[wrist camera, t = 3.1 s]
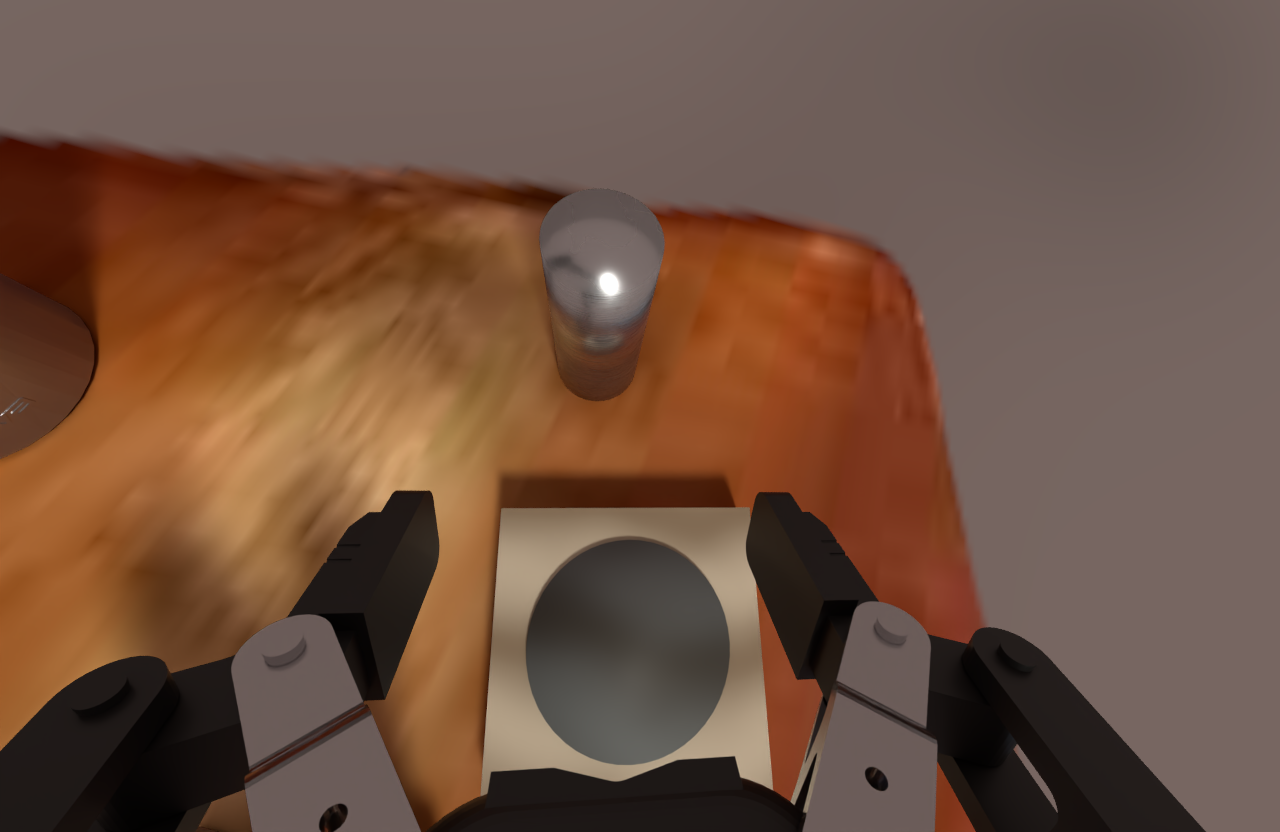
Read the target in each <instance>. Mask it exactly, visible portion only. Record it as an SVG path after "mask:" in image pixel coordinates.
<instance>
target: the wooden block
mask: <svg viewBox="0 0 1280 832" xmlns="http://www.w3.org/2000/svg"><path fill="white" fill-rule="evenodd" d="M195 832H218V831H214V830H211V829H207V828H203V827H198V828H197V830H196V831H195Z"/></svg>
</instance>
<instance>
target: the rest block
mask: <svg viewBox="0 0 1280 832" xmlns="http://www.w3.org/2000/svg"><path fill="white" fill-rule="evenodd" d="M749 525H750V509H749V508H501V520H500V534H499V548H498V562H497V576H496V589H495V603H494V617H493V631H492V645H491V659H490V672H489V686H488V700H487V714H486V728H485V742H484V756H483V769H482V783H481V796H483V795H485V794H487V793H488V787H489V781H490V774H491V772H493V771H509V770H525V769H540V768H558V769H562V770H566V771H570V772H575V773H579V774H583V775H588V776H592V777H596V778H601V779H605V780H609V781H622V780H626V779H628V778H631V777H634V776H636V775H639V774H641V773H644V772H647V771H649V770H652V769H655V768H657V767H660V766H663V765H665V764H668V763H671V762H673V761H676V760H682V759H697V758H713V757H729V756H735V758H736V762H737V766H738V770H739V774H740V777H741V778H745V779H748V780H751V781H754V782H756V783H759V784H762V785H764V786H765V787H767V788H769V789H771V790H773V784H772V772H771V760H770V748H769V736H768V724H767V712H766V700H765V688H764V676H763V664H762V652H761V640H760V628H759V616H758V604H757V592H756V581H755V578H754V576H753V574H752V571H751V569H750V566H749V564H748V561H747V556H746V538H747V534H748V529H749Z"/></svg>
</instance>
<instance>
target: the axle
mask: <svg viewBox="0 0 1280 832" xmlns="http://www.w3.org/2000/svg"><path fill="white" fill-rule="evenodd" d="M539 240H540V249H541V256H542V263H543V269H544V276H545V283H546V289H547V296H548V303H549V309H550V316H551V323H552V329H553V336H554V343H555V349H556V356H557V363H558V369H559V374H560V377H561V379H562V381H563V383H564V384H565V386H566V387H567V388H568V389H569V390H570V391H571V392H572V393H574V394H575V395H577V396H578V397H581V398H583V399H586V400H591V401H604V400H609V399H612V398H614V397H616V396H618V395H620V394H621V393H622V392H624V391H625V390H626V389H627V388H628V386H629V385H630V383H631V382H632V380H633V377H634V374H635V370H636V366H637V361H638V357H639V353H640V349H641V345H642V341H643V337H644V332H645V328H646V324H647V320H648V316H649V312H650V307H651V303H652V299H653V295H654V291H655V287H656V283H657V278H658V274H659V270H660V266H661V262H662V258H663V253H664V235H663V231H662V228H661V226H660V224H659V222H658V220H657V218H656V217H655V215H654V214H653V213H652V212H651V211H650V209H649V208H647V207H646V206H645V205H644V204H643V203H641V202H640V201H639V200H637V199H635V198H633V197H631V196H630V195H627V194H625V193H622V192H618V191H615V190H610V189H588V190H582V191H578V192H575V193H573V194H570V195H568V196H566V197H564V198H563V199H561V200H560V201H558V202H557V203H556V204H555V205H554V206H553V207H552V208H551V209H550V210H549V211H548V213H547V214H546V216H545V218H544V220H543V222H542V225H541V229H540V236H539Z"/></svg>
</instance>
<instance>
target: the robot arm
mask: <svg viewBox="0 0 1280 832" xmlns="http://www.w3.org/2000/svg"><path fill="white" fill-rule="evenodd" d="M93 366H94V344H93V341H92V338H91V334H90V331H89V330H88V328H87V327H86V325H85V324H84V322H83V321H82V319H81V318H80V317H79V316H77V315H76V314H75V313H74V312H73V311H71V310H70V309H69V308H68V307H66V306H64V305H62V304H60V303H58V302H56V301H54V300H52V299H50V298H48V297H46V296H44V295H42V294H40V293H38V292H36V291H34V290H32V289H30V288H28V287H26V286H24V285H22V284H20V283H18V282H16V281H15V280H13V279H11V278H9V277H7V276H5V275H3V274H1V273H0V459H1V458H4V457H6V456H8V455H11V454H13V453H15V452H17V451H19V450H21V449H23V448H25V447H28V446H29V445H31V444H32V443H34V442H35V441H37V440H38V439H40V438H41V437H43V436H44V435H46V434H47V433H49V432H50V431H51V430H52V429H53V428H54V427H55V426H56V425H58V424H59V423H60V422H61V421H62V420H63V419H64V418H65V417H66V416H67V415H68V414H69V412H70V411H71V410H72V409H73V407H74V406H75V405H76V404H77V402H78V401H79V400H80V398H81V396H82V394H83V393H84V391H85V389H86V387H87V385H88V383H89V381H90V377H91V373H92V370H93ZM836 541H837V540H836V539H835V537H834V536H833V534H832V533H831V532H830V530H829V529H828V527H827V526H826V525H825V524H824V523H823V522H821V521H820V520H819V519H818V518H816V517H815V516H814V515H812V514H811V513H810V512H802V511H801V509H800V508H799V506H798V505H797V503H796V502H795V500H794V498H793V497H792V496H791V494H790V493H788V492H759V493H758V494H757V496H756V498H755V502H754V507H753V511H752V516H751V520H750V525H749V529H748V534H747V538H746V556H747V561H748V564H749V566H750V569H751V571H752V574H753V576H754V578H755V581H756V583H757V585H758V588H759V590H760V593H761V595H762V597H763V600H764V602H765V604H766V607H767V609H768V612H769V614H770V616H771V619H772V621H773V624H774V626H775V628H776V631H777V633H778V635H779V638H780V640H781V643H782V645H783V647H784V650H785V652H786V655H787V657H788V659H789V662H790V664H791V666H792V669H793V671H794V674H795V676H796V678H797V680H801V679H816V680H817V682H818V684H819V686H820V689H821V691H822V693H823V694H822V697H821V700H820V703H819V707H818V710H817V714H816V717H815V721H814V725H813V728H812V732H811V735H810V739H809V743H808V746H807V750H806V753H805V757H804V761H803V764H802V768H801V771H800V775H799V778H798V781H797V784H796V787H795V790H794V793H793V796H792V799H791V802H790V801H789V800H787V799H786V798H784V797H783V796H781V795H780V794H778V793H777V792H775V791H773V790H771V789H769V788H767V787H765V786H764V785H762V784H759V783H756V782H754V781H751V780H748V779H745V778H741V777H740V774H739V770H738V766H737V762H736V758H735V756H729V757H713V758H697V759H682V760H676V761H673V762H671V763H668V764H665V765H663V766H660V767H657V768H655V769H652V770H649V771H647V772H644V773H641V774H639V775H636V776H634V777H631V778H628V779H626V780H622V781H609V780H605V779H601V778H596V777H592V776H588V775H583V774H579V773H575V772H570V771H566V770H562V769H558V768H540V769H525V770H509V771H493V772H491V774H490V781H489V787H488V793H487V794H485V795H483V796H480V797H477V798H475V799H473V800H471V801H469V802H467V803H465V804H463V805H461V806H459V807H458V808H456V809H455V810H453V811H452V812H450V813H449V814H447V815H446V816H444V817H443V818H442V819H440V820H439V821H438V822H437V823H435V824H434V825H433V826H432V827H430V828H429V829H428V830H427V831H426V832H935V803H936V775H937V761H938V763H939V765H940V767H941V769H942V771H943V772H944V774H945V776H946V778H947V780H948V782H949V783H950V785H951V787H952V789H953V791H954V792H955V794H956V796H957V798H958V800H959V802H960V803H961V805H962V807H963V809H964V811H965V812H966V814H967V816H968V818H969V820H970V822H971V823H972V825H973V827H974V829H975V831H976V832H1206V831H1205V830H1204V829H1203V828H1202V827H1201V826H1200V825H1199V824H1198V823H1197V822H1196V820H1195V819H1194V818H1193V817H1192V816H1191V815H1190V814H1189V813H1188V812H1187V811H1186V809H1184V807H1183V806H1182V805H1181V804H1180V803H1179V802H1178V801H1177V799H1176V798H1175V797H1174V796H1173V795H1172V794H1171V793H1170V792H1169V790H1168V789H1167V788H1166V787H1165V786H1164V785H1163V784H1162V783H1161V782H1160V781H1159V780H1158V778H1157V777H1156V776H1155V775H1154V774H1153V773H1152V772H1151V771H1150V769H1149V768H1148V767H1147V766H1146V765H1145V764H1144V763H1143V762H1142V761H1141V759H1139V757H1138V756H1137V755H1136V754H1135V753H1134V752H1133V751H1132V750H1131V748H1130V747H1129V746H1128V745H1127V744H1126V743H1125V742H1124V741H1123V740H1122V738H1121V737H1120V736H1119V735H1118V734H1117V733H1116V732H1115V731H1114V730H1113V728H1112V727H1111V726H1110V725H1109V724H1108V723H1107V722H1106V721H1105V720H1104V718H1103V717H1102V716H1101V715H1100V714H1099V713H1098V712H1097V711H1096V710H1095V709H1094V708H1093V706H1092V705H1091V704H1090V703H1089V702H1088V701H1087V700H1086V699H1085V698H1084V696H1083V695H1082V694H1081V693H1080V692H1079V691H1078V690H1077V689H1076V687H1075V686H1074V685H1073V684H1072V683H1071V682H1070V681H1069V680H1068V679H1067V678H1066V676H1065V675H1064V674H1063V673H1062V672H1061V671H1060V670H1059V669H1058V668H1057V667H1056V665H1055V664H1054V663H1053V662H1052V661H1051V660H1050V659H1049V658H1048V657H1047V656H1046V655H1045V654H1044V653H1043V652H1042V651H1041V650H1040V649H1038V648H1037V647H1035V646H1034V645H1033V644H1031V643H1030V642H1028V641H1026V640H1025V639H1023V638H1022V637H1020V636H1018V635H1016V634H1013V633H1011V632H1008V631H1005V630H1002V629H998V628H991V627H988V628H981V629H979V630H977V631H976V632H975V633H974V634H973V636H972V638H971V640H970V641H969V643H968V644H965V643H961V642H957V641H953V640H949V639H945V638H941V637H936V636H932V635H928V634H927V633H926V631H925V630H924V628H923V627H922V626H921V625H920V624H919V623H918V622H917V621H916V620H915V619H914V618H913V617H912V616H910V615H909V614H908V613H906V612H904V611H903V610H901V609H899V608H897V607H895V606H892V605H890V604H886V603H882V602H879V601H878V599H877V598H876V597H875V595H874V594H873V592H872V591H871V589H870V588H869V586H868V585H867V584H866V582H865V581H864V579H863V578H862V576H861V575H860V573H859V572H858V571H857V569H856V568H855V566H854V565H853V563H852V562H851V560H850V559H849V558H848V556H845V552H844V550H843V549H842V547H841V546H840V545H839V543H837V542H836ZM438 557H439V537H438V529H437V522H436V515H435V507H434V500H433V495H432V493H431V492H430V491H395V492H394V493H393V494H392V495H391V497H390V499H389V500H388V502H387V503H386V505H385V507H384V508H383V510H382V511H381V512H369V513H367V514H366V515H365V516H363V517H362V518H360V519H359V520H358V521H356V522H355V523H354V524H352V525H351V526H350V527H349V528H348V529H347V531H346V532H345V534H344V535H343V536H342V538H341V539H340V541H339V542H338V544H337V548H334V550H333V551H332V553H331V554H330V555H329V557H328V558H327V563H324V564H323V566H322V567H321V569H320V570H319V571H318V573H317V574H316V576H315V577H314V579H313V580H312V582H311V583H310V585H309V586H308V587H307V589H306V590H305V592H304V593H303V595H302V596H301V598H300V599H299V601H298V602H297V603H296V605H295V606H294V608H293V609H292V611H291V612H290V614H289V615H288V617H287V618H285V619H282V620H279V621H277V622H275V623H273V624H271V625H268V626H267V627H265V628H263V629H262V630H260V631H259V632H257V633H256V634H255V635H253V636H252V637H251V638H250V639H249V640H247V641H246V642H245V643H244V645H243V646H242V647H241V648H240V649H239V651H238V652H237V654H236V655H234V656H232V657H229V658H226V659H222V660H219V661H215V662H212V663H208V664H204V665H200V666H197V667H193V668H189V669H186V670H182V671H178V672H175V673H170V671H169V670H168V668H167V666H166V664H165V662H163V661H162V660H161V659H159V658H156V657H152V656H136V657H130V658H125V659H121V660H118V661H115V662H112V663H109V664H106V665H104V666H102V667H99V668H97V669H95V670H93V671H91V672H89V673H87V674H85V675H83V676H82V677H80V678H78V679H77V680H75V681H74V682H72V683H71V684H69V685H68V686H66V687H65V688H63V689H62V690H61V691H60V692H58V693H57V694H56V695H55V696H54V697H53V698H52V699H51V700H49V701H48V702H47V703H46V704H45V705H44V706H43V707H42V709H41V710H40V711H39V712H38V713H37V714H36V715H35V716H34V717H33V718H32V719H31V720H30V721H29V722H28V723H27V724H26V725H25V726H24V727H23V728H22V729H21V730H20V731H19V732H18V733H17V734H16V735H15V737H14V738H13V739H12V740H11V741H10V742H9V743H8V744H7V745H6V746H5V747H4V748H3V749H2V750H1V751H0V832H195V831H196V830H197V828H198V826H199V824H200V822H201V820H202V819H203V817H204V815H205V813H206V811H207V810H208V808H209V806H210V804H211V802H212V801H214V800H217V799H220V798H223V797H225V796H228V795H231V794H234V793H236V792H239V791H242V790H245V792H246V798H247V804H248V810H249V815H250V821H251V827H252V832H421V831H420V828H419V826H418V823H417V821H416V819H415V816H414V814H413V811H412V809H411V807H410V804H409V802H408V800H407V797H406V795H405V792H404V790H403V788H402V785H401V783H400V780H399V778H398V776H397V773H396V771H395V768H394V766H393V764H392V761H391V759H390V756H389V754H388V752H387V749H386V747H385V745H384V742H383V740H382V737H381V735H380V733H379V730H378V728H377V725H376V723H375V721H374V718H373V716H372V714H371V711H370V709H369V707H368V706H367V705H364V703H363V702H364V701H366V700H385V698H386V696H387V693H388V691H389V688H390V685H391V683H392V680H393V678H394V675H395V673H396V670H397V667H398V665H399V662H400V660H401V657H402V655H403V652H404V649H405V647H406V644H407V642H408V639H409V637H410V634H411V631H412V629H413V626H414V624H415V621H416V619H417V616H418V613H419V611H420V608H421V606H422V603H423V601H424V598H425V595H426V593H427V590H428V588H429V585H430V583H431V580H432V577H433V575H434V572H435V570H436V567H437V563H438ZM1017 744H1018V745H1019V747H1020V748H1021V749H1022V751H1023V752H1024V754H1025V755H1026V756H1027V758H1028V759H1029V760H1030V762H1031V763H1032V765H1033V766H1034V767H1035V769H1036V771H1037V772H1038V773H1039V775H1040V776H1041V778H1042V779H1043V780H1044V782H1045V783H1046V785H1047V786H1048V788H1049V789H1050V791H1051V793H1052V795H1053V797H1054V799H1055V802H1056V805H1057V810H1058V813H1057V812H1056V810H1055V809H1054V807H1053V806H1052V805H1051V803H1050V802H1049V800H1048V799H1047V798H1046V796H1045V795H1044V793H1043V792H1042V790H1041V789H1040V787H1039V786H1038V784H1037V783H1036V782H1035V780H1034V779H1033V777H1032V776H1031V775H1030V773H1029V771H1028V770H1027V769H1026V767H1025V766H1024V764H1023V763H1022V761H1021V760H1020V759H1019V757H1018V756H1017V754H1016V753H1015V751H1014V750H1013V749H1014V748H1015V746H1016V745H1017Z"/></svg>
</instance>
